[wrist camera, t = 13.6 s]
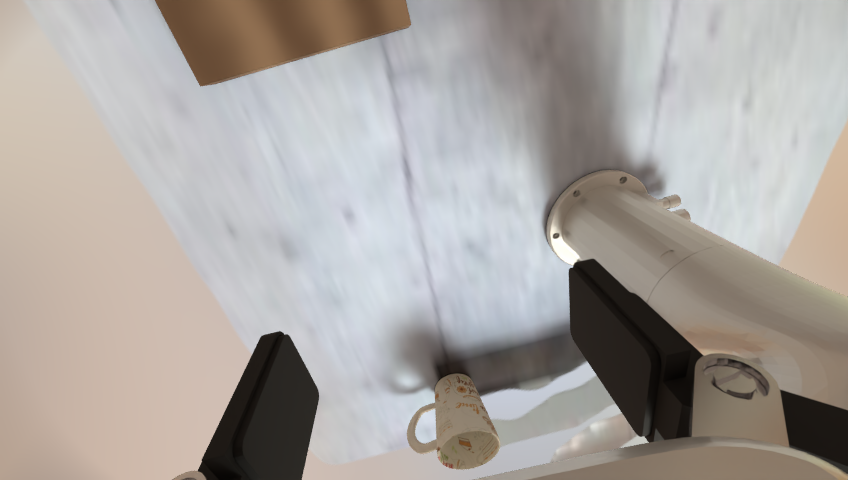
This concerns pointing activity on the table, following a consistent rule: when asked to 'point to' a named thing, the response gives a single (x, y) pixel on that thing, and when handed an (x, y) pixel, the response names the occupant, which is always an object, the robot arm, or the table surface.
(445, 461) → the mug
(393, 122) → the table surface
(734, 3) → the table surface
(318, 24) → the walnut plinth
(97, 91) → the table surface
